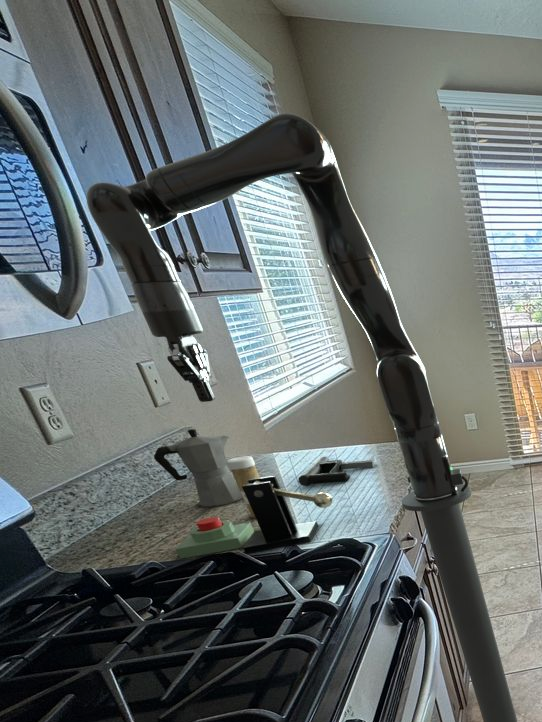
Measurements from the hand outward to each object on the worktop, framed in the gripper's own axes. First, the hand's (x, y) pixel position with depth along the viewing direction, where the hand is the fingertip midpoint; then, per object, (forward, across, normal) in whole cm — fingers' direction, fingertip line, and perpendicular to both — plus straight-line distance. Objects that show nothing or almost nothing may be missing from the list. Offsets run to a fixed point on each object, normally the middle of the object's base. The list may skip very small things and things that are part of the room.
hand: (208, 400), depth 114 cm
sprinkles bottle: (+27, +6, +1) cm, 28 cm away
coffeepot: (+27, +23, +14) cm, 38 cm away
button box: (+27, -10, +5) cm, 29 cm away
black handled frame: (+27, +32, -11) cm, 43 cm away
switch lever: (+20, -14, -11) cm, 26 cm away
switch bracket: (+27, -14, -7) cm, 31 cm away
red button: (+23, -10, +5) cm, 26 cm away
